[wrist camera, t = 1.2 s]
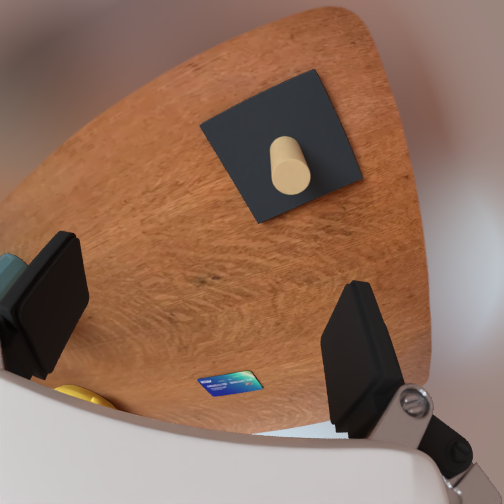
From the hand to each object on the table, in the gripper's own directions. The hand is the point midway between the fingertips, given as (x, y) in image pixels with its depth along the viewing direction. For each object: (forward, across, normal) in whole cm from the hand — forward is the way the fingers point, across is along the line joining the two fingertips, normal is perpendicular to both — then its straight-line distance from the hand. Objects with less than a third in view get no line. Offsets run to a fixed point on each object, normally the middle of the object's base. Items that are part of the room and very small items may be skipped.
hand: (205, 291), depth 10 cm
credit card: (+18, -4, +33) cm, 38 cm away
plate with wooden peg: (+18, -4, -1) cm, 18 cm away
